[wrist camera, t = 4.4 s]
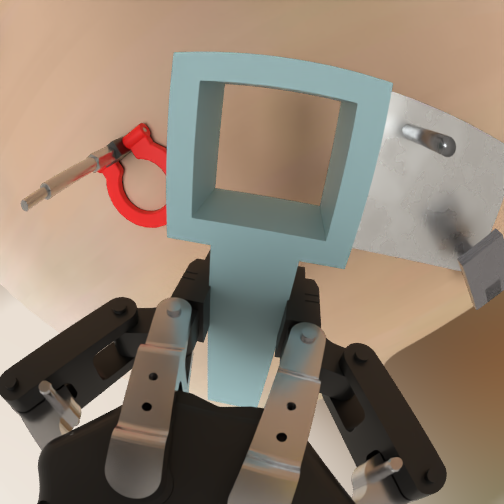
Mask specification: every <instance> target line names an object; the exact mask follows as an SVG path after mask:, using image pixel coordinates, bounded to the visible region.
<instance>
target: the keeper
mask: <svg viewBox="0 0 504 504" xmlns="http://www.w3.org/2000/svg"><path fill="white" fill-rule="evenodd" d="M457 260H458V263H459V266H460V268H461V271H462V274H463V276H464V279H465V282H466V285H467V288H468V291H469V294H470V297H471V301H472V303H473V305H474V307H475V308H476V310H478V309H479V308H480V307H482V306H483V305H485V304H486V303H487V302H489V301H490V300H491V299H493V298H494V297H495V296H496V295H498V294H499V293H500V292H502V291H503V290H504V239H503V235H502V234H501V233H500V232H499V231H498V230H497V229H495V230H493V231H492V232H491V233H490V234H489V235H487V236H486V237H485V238H484V239H482V240H481V241H480V242H478V243H477V244H476V245H475V246H473V247H472V248H471V249H469V250H468V251H467V252H465V253H464V254H463V255H461V256H460V257H459V258H457Z"/></svg>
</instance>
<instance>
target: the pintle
mask: <svg viewBox="0 0 504 504" xmlns="http://www.w3.org/2000/svg"><path fill="white" fill-rule="evenodd" d="M402 133H403V136H404V137H405V138H406V139H408V140H410V141H413V142H415V143H417V144H419V145H422V146H424V147H426V148H428V149H430V150H432V151H435V152H437V153H439V154H441V155H443V156H445V157H451V156H452V155H454V153H455V151H456V143H455V141H454V139H453V138H452V137H450V136H447V135H444V134H441V133H438V132H435V131H432V130H428V129H425V128H422V127H418V126H415V125H411V124H407V125H405V126H404V127H403V130H402Z"/></svg>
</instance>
